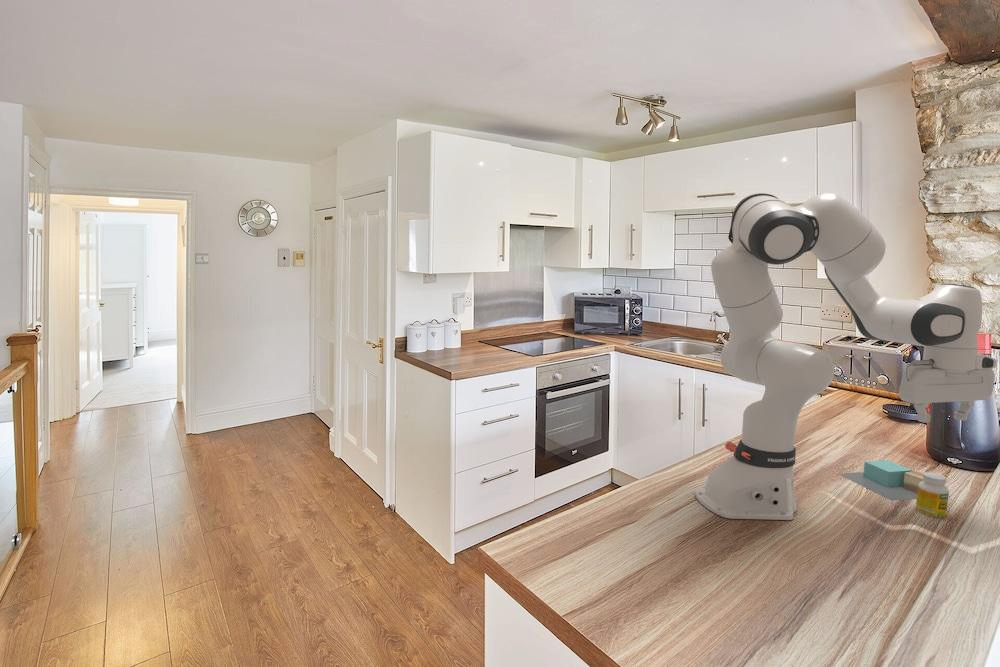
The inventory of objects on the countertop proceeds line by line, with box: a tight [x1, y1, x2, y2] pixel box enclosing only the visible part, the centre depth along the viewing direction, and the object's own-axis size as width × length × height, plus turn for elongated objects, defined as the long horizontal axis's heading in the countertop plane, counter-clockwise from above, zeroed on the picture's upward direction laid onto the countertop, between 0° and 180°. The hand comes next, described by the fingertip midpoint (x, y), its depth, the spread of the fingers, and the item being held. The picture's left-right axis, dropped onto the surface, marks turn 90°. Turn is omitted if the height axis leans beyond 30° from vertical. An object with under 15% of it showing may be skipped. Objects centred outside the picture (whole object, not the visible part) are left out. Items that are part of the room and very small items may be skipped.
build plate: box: [838, 471, 917, 502], centre depth 132 cm, size 16×16×1 cm
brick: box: [903, 469, 926, 493], centre depth 128 cm, size 5×5×4 cm
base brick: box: [863, 459, 914, 487], centre depth 134 cm, size 7×7×4 cm
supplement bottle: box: [915, 471, 950, 518], centre depth 117 cm, size 5×5×10 cm
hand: (941, 420), depth 115 cm, fingers open, 8 cm apart
